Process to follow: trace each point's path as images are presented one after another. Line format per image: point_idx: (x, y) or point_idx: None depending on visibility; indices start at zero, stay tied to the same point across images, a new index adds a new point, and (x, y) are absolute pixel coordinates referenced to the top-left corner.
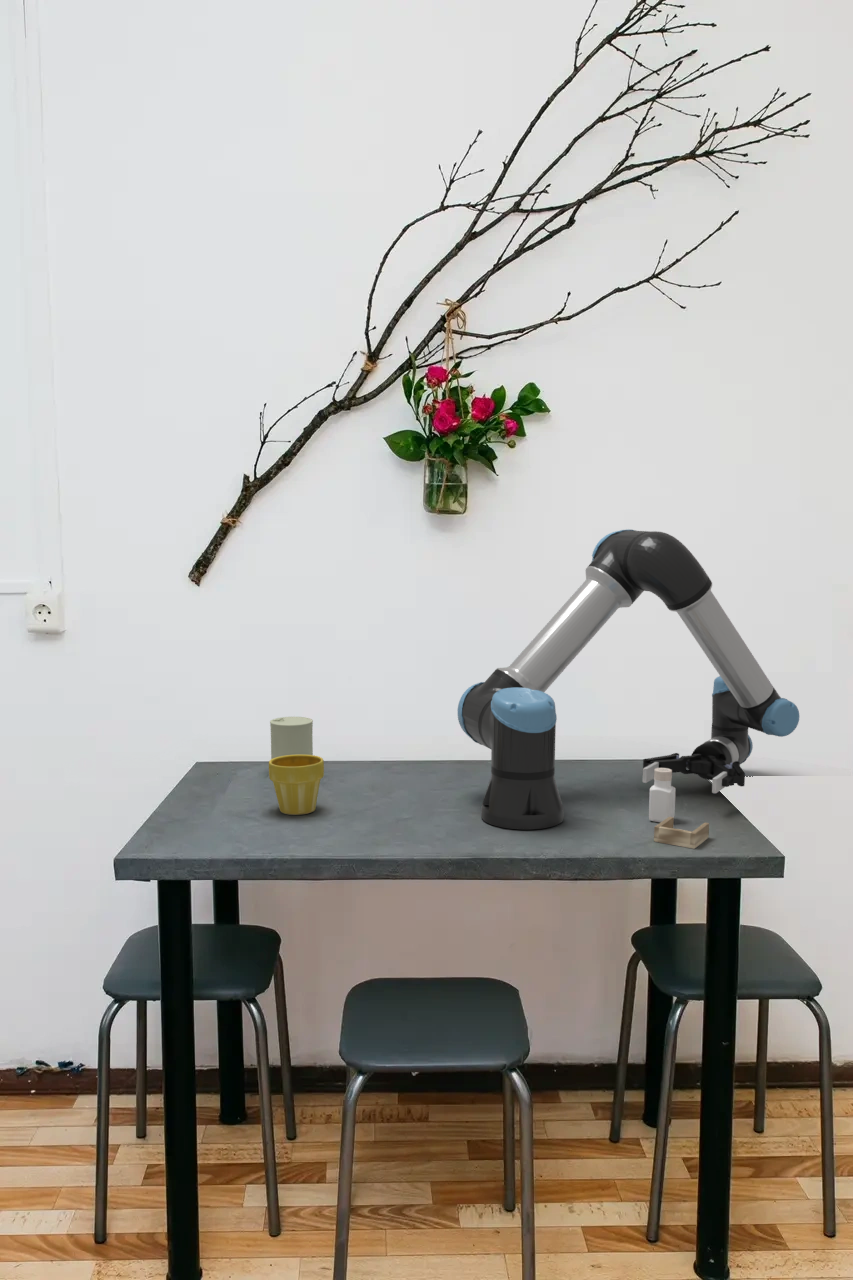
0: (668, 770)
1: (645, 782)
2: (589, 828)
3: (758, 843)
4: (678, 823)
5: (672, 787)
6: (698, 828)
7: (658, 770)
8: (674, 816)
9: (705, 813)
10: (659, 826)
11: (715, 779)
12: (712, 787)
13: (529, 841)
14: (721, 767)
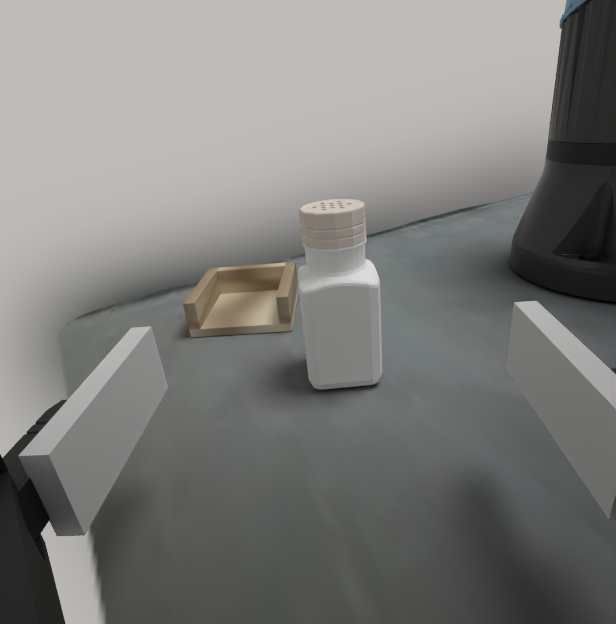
0: (311, 207)
1: (510, 366)
2: (451, 285)
3: (68, 357)
4: (287, 373)
5: (303, 273)
6: (205, 281)
7: (342, 200)
8: (308, 377)
9: (218, 498)
10: (286, 264)
11: (136, 329)
12: (160, 366)
13: (475, 237)
14: (15, 610)
